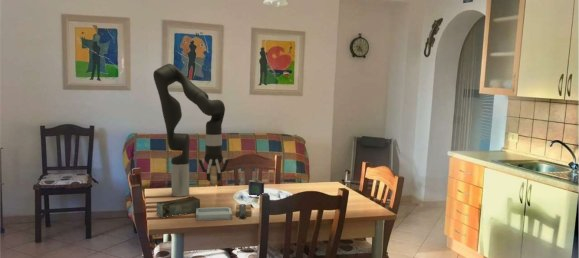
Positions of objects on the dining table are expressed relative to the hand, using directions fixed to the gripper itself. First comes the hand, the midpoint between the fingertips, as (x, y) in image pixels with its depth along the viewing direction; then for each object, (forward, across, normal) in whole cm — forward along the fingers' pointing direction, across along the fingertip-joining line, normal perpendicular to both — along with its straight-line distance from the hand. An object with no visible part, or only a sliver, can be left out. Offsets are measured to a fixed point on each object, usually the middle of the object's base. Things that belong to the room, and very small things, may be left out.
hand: (213, 180), depth 216 cm
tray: (+17, 0, 0) cm, 17 cm away
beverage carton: (+17, -16, +7) cm, 25 cm away
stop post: (+17, +13, -4) cm, 22 cm away
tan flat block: (+17, +14, +3) cm, 23 cm away
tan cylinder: (+2, 0, 0) cm, 2 cm away
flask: (+17, +23, +30) cm, 42 cm away
